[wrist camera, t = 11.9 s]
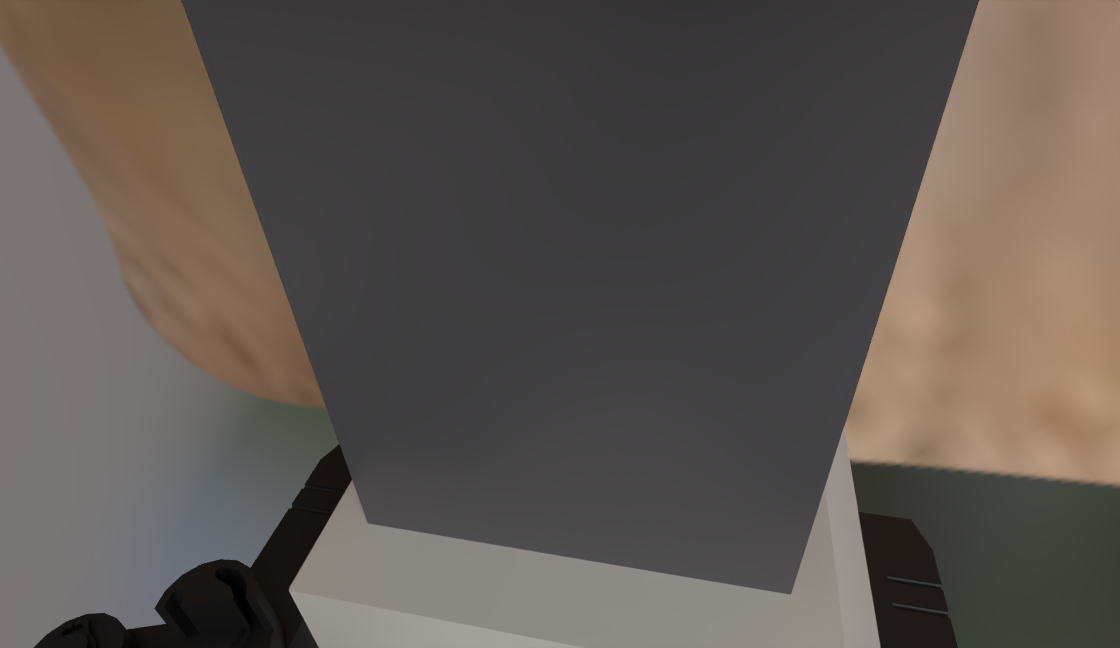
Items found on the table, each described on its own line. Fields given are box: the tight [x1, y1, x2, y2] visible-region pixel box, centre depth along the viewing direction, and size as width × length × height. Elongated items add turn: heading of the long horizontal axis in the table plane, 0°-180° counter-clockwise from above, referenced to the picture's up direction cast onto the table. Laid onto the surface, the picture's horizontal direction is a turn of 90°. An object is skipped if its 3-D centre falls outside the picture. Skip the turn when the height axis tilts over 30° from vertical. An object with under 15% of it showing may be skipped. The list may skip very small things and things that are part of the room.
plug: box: [182, 0, 979, 648], centre depth 10 cm, size 14×6×8 cm, turn 2°
